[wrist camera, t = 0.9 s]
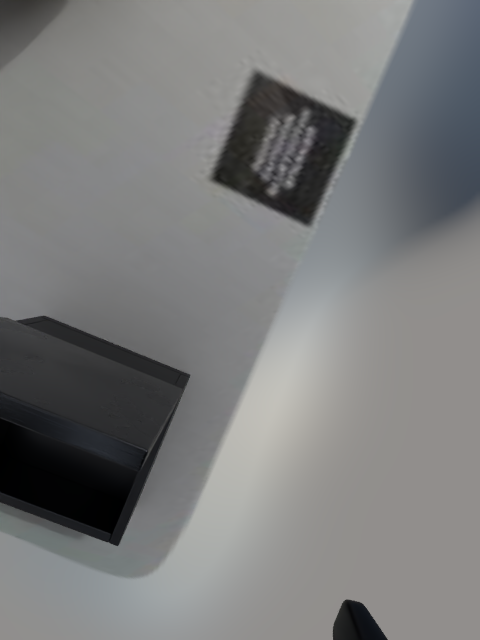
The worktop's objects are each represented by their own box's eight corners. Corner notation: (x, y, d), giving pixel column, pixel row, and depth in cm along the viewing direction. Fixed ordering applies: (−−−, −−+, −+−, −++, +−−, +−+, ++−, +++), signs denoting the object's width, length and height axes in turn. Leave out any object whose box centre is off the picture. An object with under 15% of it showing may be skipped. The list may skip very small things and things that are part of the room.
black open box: (135, 507, 24) (117, 546, 21) (-7, 453, 24) (-50, 484, 20) (190, 374, 23) (182, 391, 20) (44, 315, 23) (8, 321, 19)
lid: (139, 473, 9) (149, 450, 9) (-267, 315, 8) (-255, 292, 8) (179, 398, 19) (183, 388, 19) (1, 327, 19) (6, 317, 19)
